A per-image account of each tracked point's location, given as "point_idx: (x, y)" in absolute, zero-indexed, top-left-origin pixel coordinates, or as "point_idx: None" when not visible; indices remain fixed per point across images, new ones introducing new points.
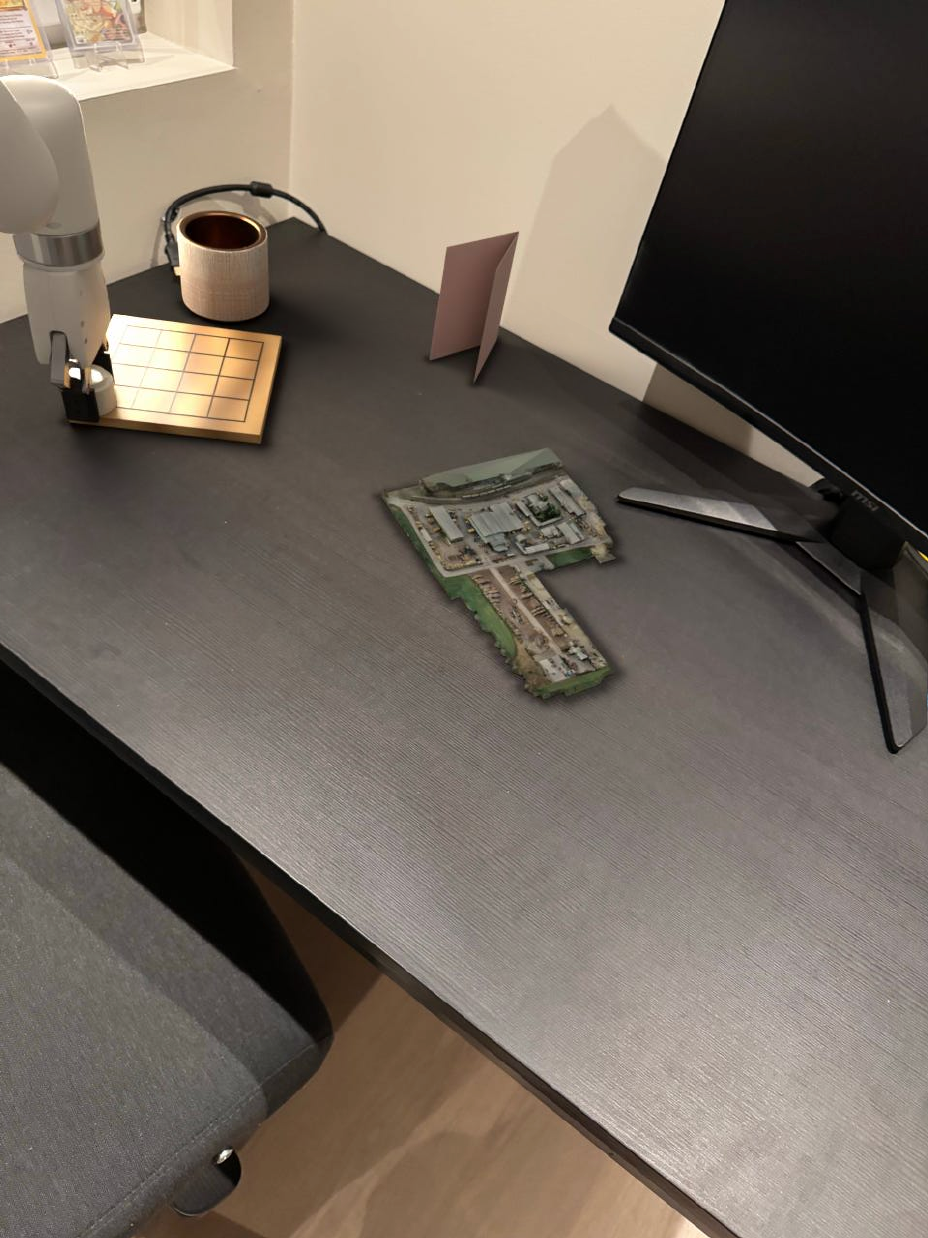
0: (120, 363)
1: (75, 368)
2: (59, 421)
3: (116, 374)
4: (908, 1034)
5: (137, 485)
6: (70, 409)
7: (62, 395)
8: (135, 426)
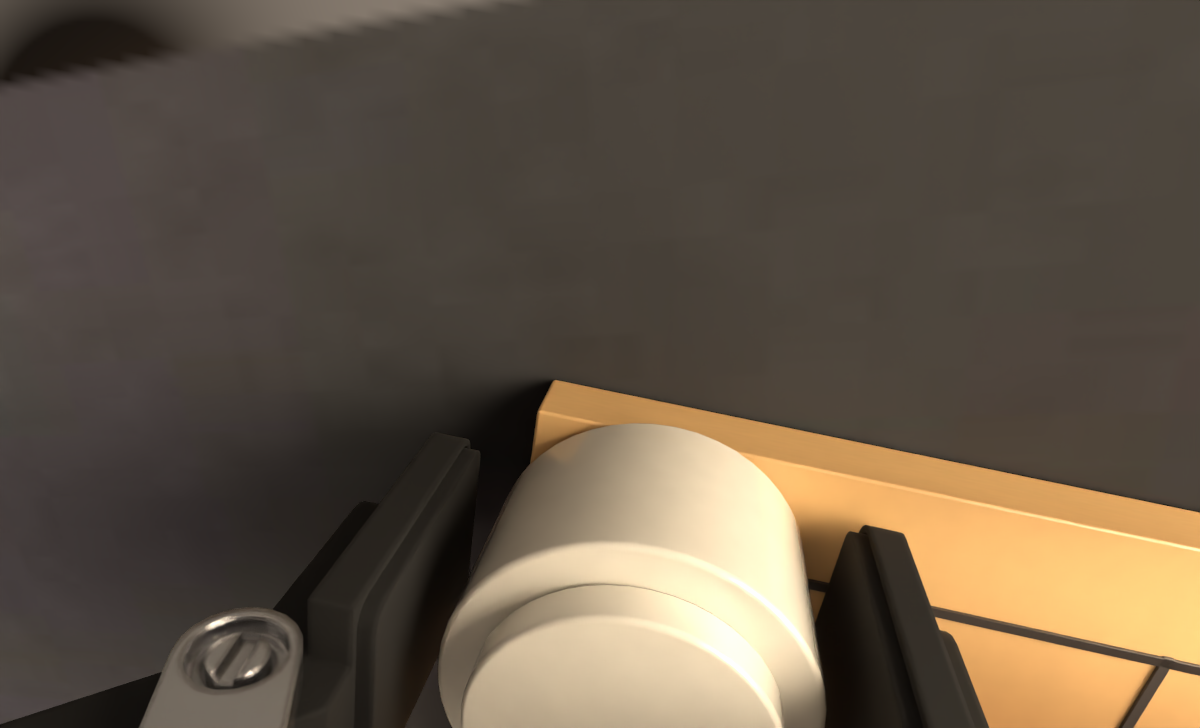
0: (1128, 716)
1: (710, 674)
2: (562, 320)
3: (990, 684)
4: None
5: (119, 656)
6: (337, 532)
7: (348, 548)
8: None
